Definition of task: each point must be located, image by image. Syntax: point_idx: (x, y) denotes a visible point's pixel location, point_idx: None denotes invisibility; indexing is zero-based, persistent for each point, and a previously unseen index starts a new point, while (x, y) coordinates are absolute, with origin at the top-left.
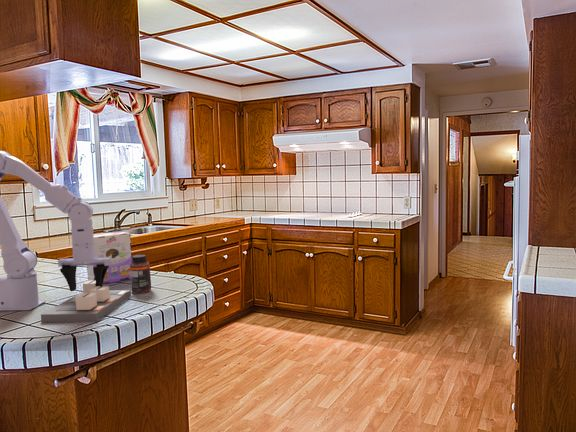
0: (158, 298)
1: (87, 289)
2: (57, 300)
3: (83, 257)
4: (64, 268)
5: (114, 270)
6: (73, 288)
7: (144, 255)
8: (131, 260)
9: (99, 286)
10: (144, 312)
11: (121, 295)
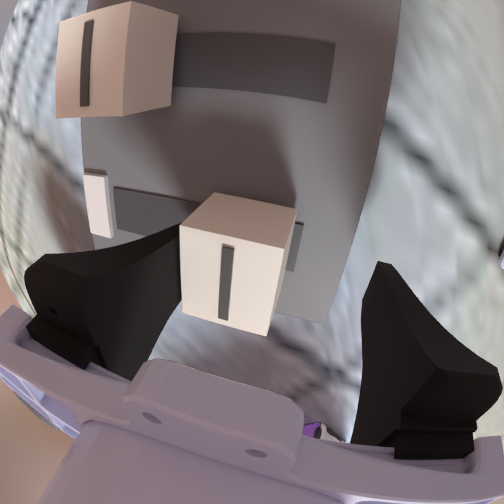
0: (32, 194)
1: (256, 217)
2: (451, 285)
3: (103, 480)
4: (460, 407)
5: None
6: (374, 282)
7: (21, 401)
8: None
9: (103, 111)
10: (21, 31)
11: (87, 167)
